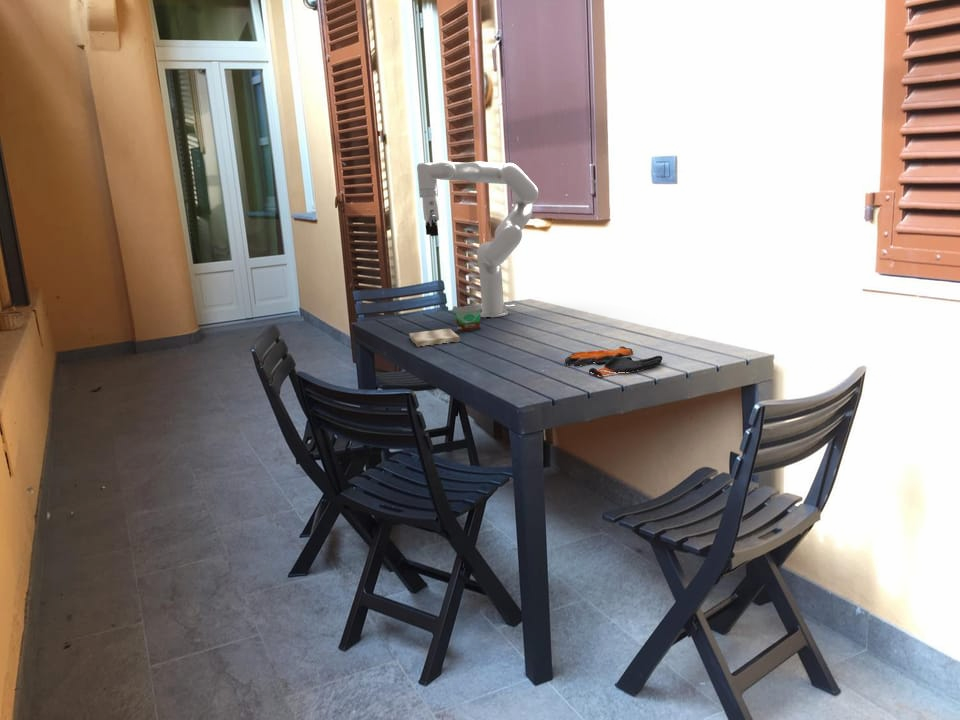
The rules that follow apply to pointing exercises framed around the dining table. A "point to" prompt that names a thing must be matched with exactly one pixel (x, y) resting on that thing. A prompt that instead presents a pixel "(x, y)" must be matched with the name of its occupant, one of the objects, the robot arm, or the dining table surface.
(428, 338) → the birch board
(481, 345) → the dining table surface
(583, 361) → the pair of gloves
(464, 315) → the food container
